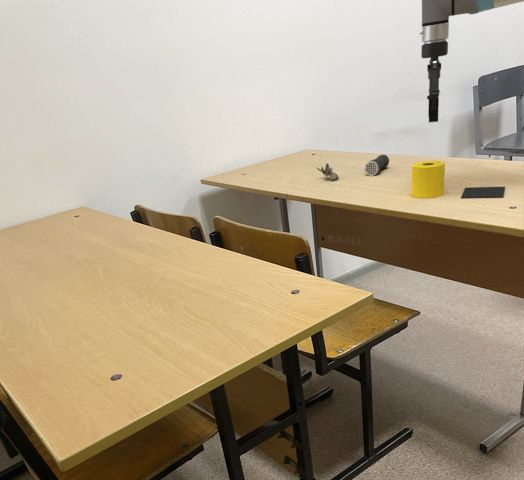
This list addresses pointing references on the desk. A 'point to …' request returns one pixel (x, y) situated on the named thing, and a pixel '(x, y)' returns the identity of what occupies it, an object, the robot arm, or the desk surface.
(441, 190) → the tape roll
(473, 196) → the edge mat
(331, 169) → the eagle figurine
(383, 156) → the flashlight
